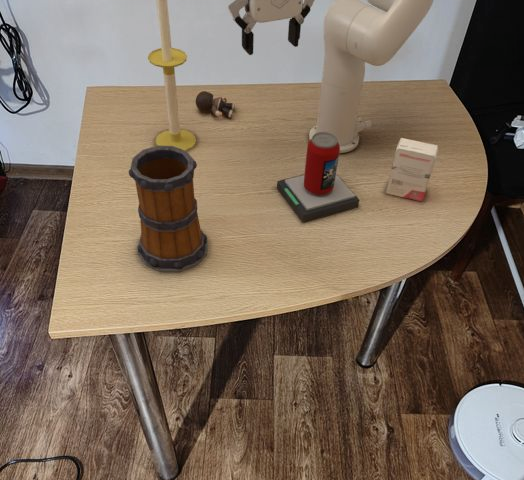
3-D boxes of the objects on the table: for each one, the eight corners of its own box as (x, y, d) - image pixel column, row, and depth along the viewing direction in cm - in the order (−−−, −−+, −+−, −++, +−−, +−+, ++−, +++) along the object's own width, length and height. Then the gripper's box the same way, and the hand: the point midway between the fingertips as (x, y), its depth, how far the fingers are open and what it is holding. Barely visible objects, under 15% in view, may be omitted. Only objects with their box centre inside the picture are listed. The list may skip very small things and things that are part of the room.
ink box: (425, 190, 128) (440, 144, 119) (422, 202, 125) (437, 156, 116) (388, 181, 129) (400, 135, 120) (384, 194, 127) (396, 147, 117)
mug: (129, 216, 119) (112, 130, 103) (195, 206, 122) (189, 121, 106) (143, 278, 108) (126, 193, 92) (215, 266, 110) (211, 181, 95)
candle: (162, 127, 140) (142, -46, 110) (200, 133, 139) (190, -41, 109) (150, 149, 134) (124, -28, 104) (189, 155, 133) (175, -22, 103)
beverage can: (331, 199, 120) (339, 150, 111) (300, 195, 121) (306, 145, 112) (335, 181, 125) (343, 132, 115) (305, 176, 125) (311, 128, 116)
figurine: (234, 110, 149) (197, 99, 148) (237, 93, 145) (200, 81, 144) (228, 127, 144) (191, 116, 143) (232, 110, 140) (193, 98, 139)
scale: (329, 174, 130) (331, 165, 128) (358, 207, 123) (360, 197, 121) (276, 188, 126) (277, 178, 124) (302, 222, 119) (303, 213, 117)
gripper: (237, -44, 89) (237, 64, 103) (330, -56, 94) (318, 49, 108) (220, -59, 93) (222, 46, 107) (309, -70, 98) (301, 33, 112)
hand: (270, 47), depth 107 cm, fingers open, 9 cm apart
